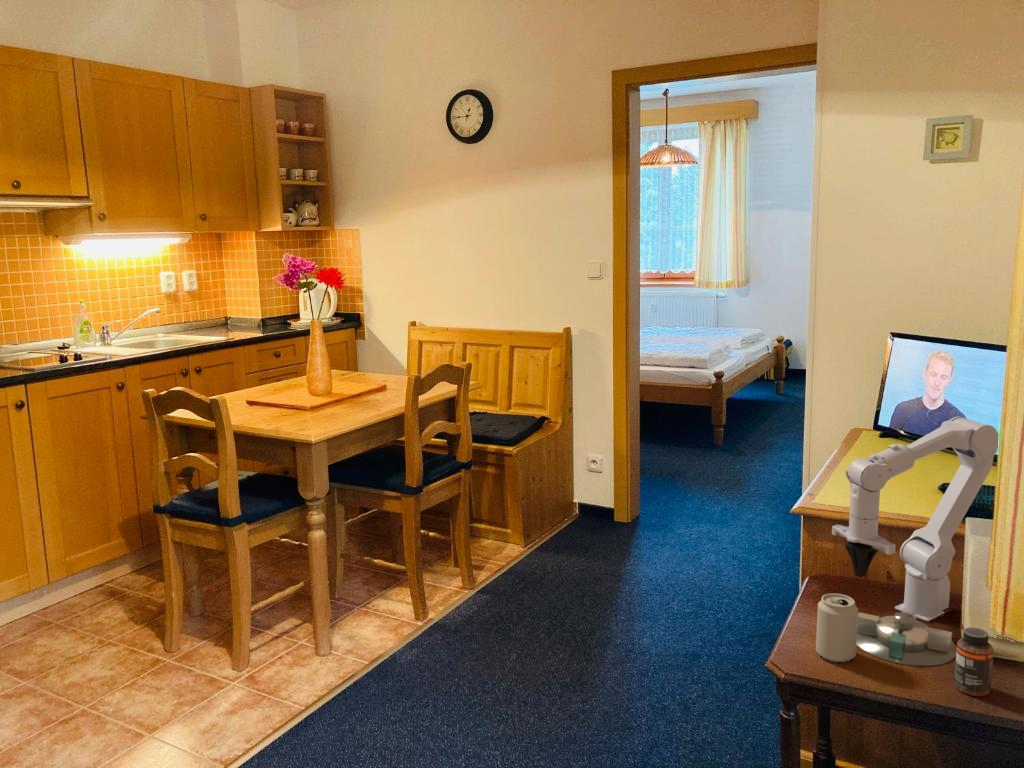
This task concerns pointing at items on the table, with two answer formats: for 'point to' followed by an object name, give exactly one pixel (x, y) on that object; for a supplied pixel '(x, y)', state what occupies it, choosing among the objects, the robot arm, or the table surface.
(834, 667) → the table surface
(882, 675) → the table surface
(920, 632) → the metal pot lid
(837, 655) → the can
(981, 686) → the supplement bottle
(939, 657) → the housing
